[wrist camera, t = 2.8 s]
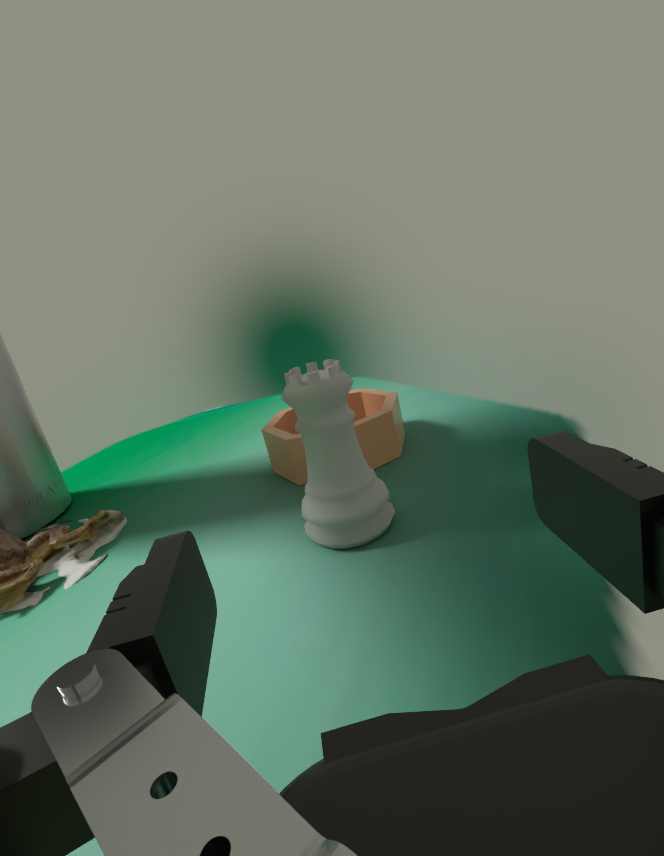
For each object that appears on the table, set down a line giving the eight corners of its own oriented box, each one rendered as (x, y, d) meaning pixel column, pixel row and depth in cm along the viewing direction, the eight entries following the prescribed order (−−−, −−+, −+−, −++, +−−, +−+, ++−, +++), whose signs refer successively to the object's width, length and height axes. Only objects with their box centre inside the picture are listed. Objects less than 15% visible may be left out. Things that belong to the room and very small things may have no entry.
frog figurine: (-181, 686, 23) (-230, 618, 22) (-13, 544, 34) (-38, 494, 33) (57, 638, 22) (20, 565, 21) (148, 509, 34) (128, 457, 32)
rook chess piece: (298, 559, 23) (249, 391, 20) (314, 510, 27) (274, 366, 24) (397, 546, 22) (358, 369, 19) (397, 497, 26) (365, 347, 24)
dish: (260, 489, 31) (247, 445, 30) (298, 437, 39) (288, 401, 38) (397, 473, 29) (387, 425, 28) (408, 422, 36) (400, 382, 35)
